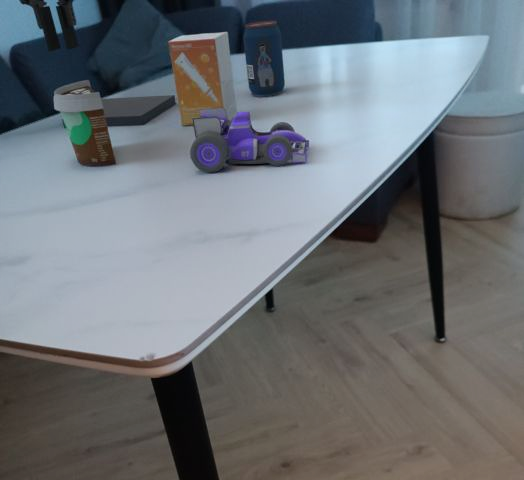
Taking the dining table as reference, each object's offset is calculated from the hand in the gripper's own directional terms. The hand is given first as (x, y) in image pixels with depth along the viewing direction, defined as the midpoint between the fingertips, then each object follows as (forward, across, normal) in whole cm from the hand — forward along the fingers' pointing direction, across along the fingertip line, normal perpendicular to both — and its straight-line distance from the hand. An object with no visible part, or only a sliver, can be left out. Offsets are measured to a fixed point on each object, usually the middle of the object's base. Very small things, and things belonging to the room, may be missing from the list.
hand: (63, 48), depth 103 cm
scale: (+13, -6, -4) cm, 14 cm away
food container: (+13, -14, +22) cm, 29 cm away
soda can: (+13, -31, -17) cm, 38 cm away
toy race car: (+13, -40, +23) cm, 48 cm away
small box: (+13, -26, +2) cm, 29 cm away
